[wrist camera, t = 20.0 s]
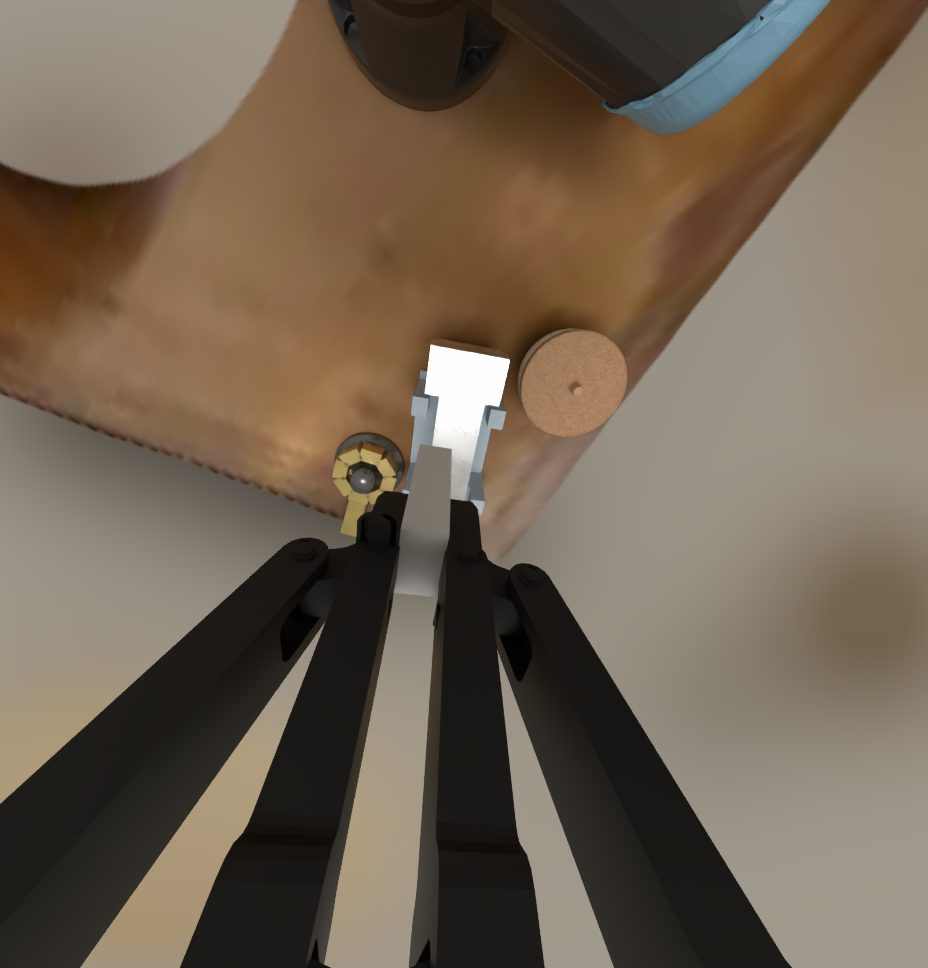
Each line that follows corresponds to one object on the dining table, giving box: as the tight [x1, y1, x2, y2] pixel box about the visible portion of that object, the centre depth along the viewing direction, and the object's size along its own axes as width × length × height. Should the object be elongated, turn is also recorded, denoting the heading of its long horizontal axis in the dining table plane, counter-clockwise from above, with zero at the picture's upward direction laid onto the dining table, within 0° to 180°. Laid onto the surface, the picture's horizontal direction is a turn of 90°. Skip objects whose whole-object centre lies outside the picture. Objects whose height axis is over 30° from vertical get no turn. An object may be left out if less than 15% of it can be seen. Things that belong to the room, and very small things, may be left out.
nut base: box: [335, 433, 404, 494], centre depth 46 cm, size 9×9×6 cm
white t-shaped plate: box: [425, 338, 510, 501], centre depth 39 cm, size 21×7×5 cm, turn 170°
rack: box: [403, 369, 506, 515], centre depth 43 cm, size 15×10×8 cm, turn 170°
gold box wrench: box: [332, 440, 399, 537], centre depth 47 cm, size 13×8×3 cm, turn 159°
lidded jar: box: [518, 328, 627, 437], centre depth 39 cm, size 11×11×9 cm
